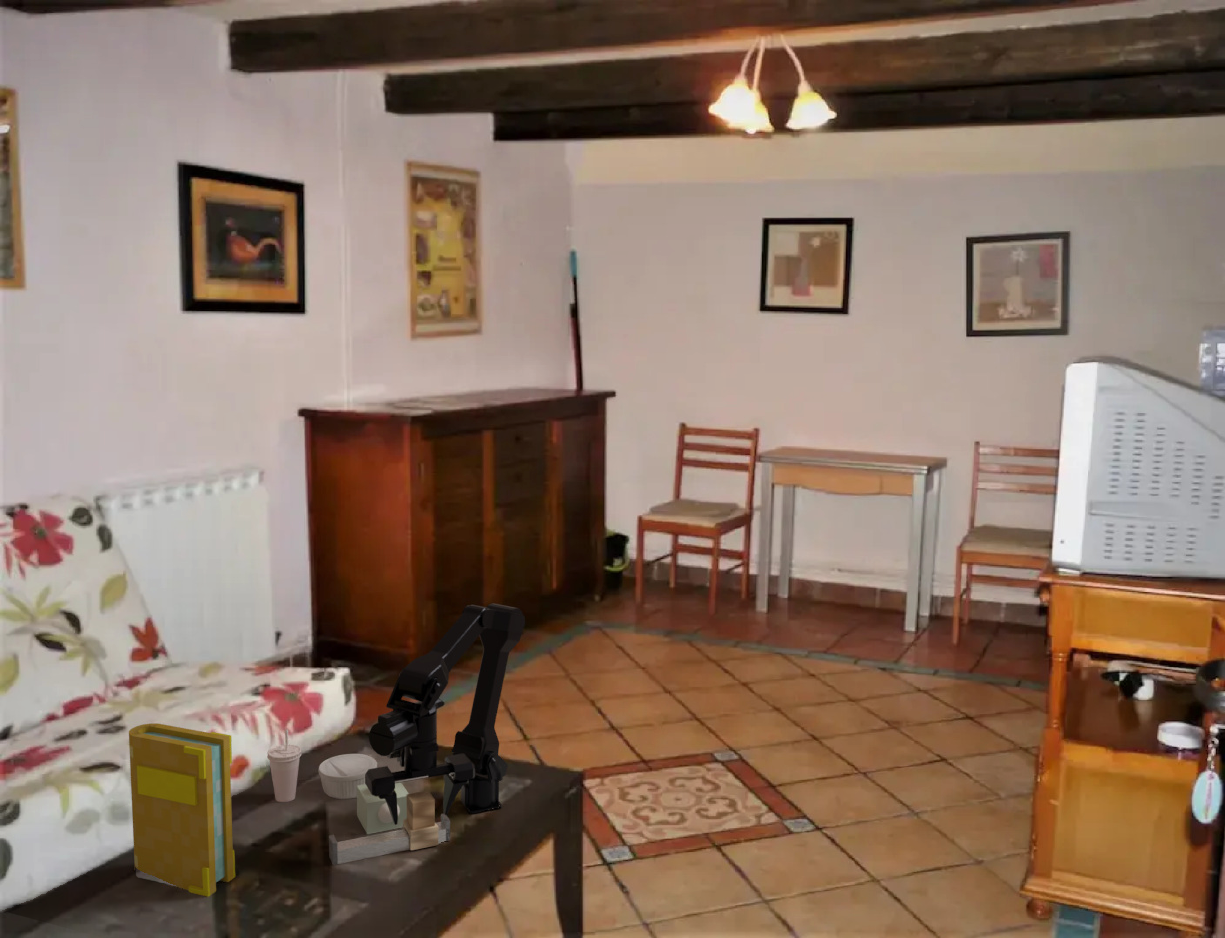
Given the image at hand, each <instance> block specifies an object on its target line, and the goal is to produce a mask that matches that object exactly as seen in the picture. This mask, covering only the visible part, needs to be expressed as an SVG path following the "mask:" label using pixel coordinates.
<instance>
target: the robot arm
mask: <svg viewBox="0 0 1225 938" xmlns="http://www.w3.org/2000/svg"><path fill="white" fill-rule="evenodd" d="M525 626H526V618H525V616H524V614H523V611H522V609H520V608H519V607H514V606H508V605H503V604H498V603H490V604H488V605H487V606H481V605H476V604H468V605H466V606H465V607H464V608H463V609H462V613H461V615H460V616H459V618H458V619H456V621H455V622H454V623H453V624H452V626H451V627H450V628H449V629H448V631H446V633H445V634H444V635H443V636H442V637H441V638H440V639H439V641H438V642H437V643H436V644H435V645H434V646H433V647H432V649H431V650H430V651H429V652H428V653H426V654H424V655H421V656H419V657H417V658H414V659H413V660H412V661H410V663H408V664H407V665H406V666H405V667H403V668H402V670H401V671H400V673H399V675H398V678H397V680H396V682H395V684H394V685H393V686H394V687H393V688H392V692H391V693H390V696H389V699H388V701H387V703H386V708H387V709H391V711H389V712H387V713H382V714H379V715H378V717H377V723H374V724H373V725H372V726H371V728H370V731H369V733H368V741H369V745H370V746H371V749H372V750H373V751H374V752H375V753H376V754H378V755H379V756H381V757H387V759H395V758H396V761H397V762H399V766H400V767H401V768H403V767H404V768H403V770H398V771H391V770H390V768H389V767H388V765H386V766H380V767H377V768H373V769H368V771H367V772H366V774H365V784H366V786H367V787H368V789H369V791H370V792H371V794H372V795H373V796H378V797H379V798H380V799H385V800H386V803H387V805H388V808H389V811H390V814H391V817H392V819H393V822H394V824H395V825H397V822H398V809H397V794H396V792H395V791H394V789H395V783H400V782H401V783H405V782H411V781H418V780H423V779H427V778H428V779H429V778H433V777H439V776H443V782H444V788H443V799H442V800H443V801H442V810H443V813H442V814H445V815H447V816H448V814H449V812H450V810H451V807H452V805H453V803H454V801H455V799H456V797H457V795H458V794H459V792H460V802H461V804H462V805H463V806H464V807H465V808H466V810H467V811H468V812H469V813H470V814H478V813H482V812H481V811H483V812H485V811H484V810H488V809H492V808H498V807H502V808H503V804H502V803H501V802H500V782H502V781H503V777H505V776H506V774H507V770H508V763H507V762H506V761H505V760H504V759H503V758H502V757H501V755H499V750H500V749H499V748H500V742H499V738H498V735H497V731H496V729H495V726H496V725H495V724H496V720H497V715H498V710H499V704H500V700H501V695H502V690H503V685H504V678H505V675H506V670H507V665H508V659H509V655H510V653H511V651H512V650H513V649H514V648H515V647H516V646H517V645H518V643H519V642H520V640H521V637H522V633H523V630H524V628H525ZM477 638H479V639H480V641H481V644H482V648H483V651H482V656H481V661H480V667H479V671H478V676H477V681H476V686H475V692H474V696H473V699H472V700H473V701H472V705H471V711H470V715H469V720H468V723H467V725H466V726H465V727H464V728H463V729H462V730H460V731H459V730H457V731H456V733H455V735H454V743H453V746H452V749H451V753H452V755H446V756H445V758H444V763H440V764H438V759H437V758H438V756H437V755H438V754H437V753H438V752H439V744H438V742H437V741H438V737H437V736H438V734H437V732H438V727H437V726H438V725H437V724H438V722H437V721H438V716H437V715H438V714H437V713H438V712H437V711H438V709H440V708H441V707H444V706H445V702H444V701H443V700H442V699H440V697H441V696H442V694H443V692H444V691H445V689H446V688H447V686H448V684H449V678H450V677H449V675H450V672H451V671H452V669H453V667H454V666H455V665H456V664H457V663H458V662H459V660H460V659H461V658H462V656H463V655H465V653H466V652H467V650H469V648H470V647H471V646H472V645H473V644H474V643H475V641H476V640H477ZM403 697H404V698H406V699H410V700H415V701H416V702H413V701H409V700H405V699H403ZM499 805H500V806H499ZM498 809H499V808H498ZM488 811H489V810H488Z"/></svg>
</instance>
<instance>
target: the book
mask: <svg viewBox="0 0 1225 938" xmlns="http://www.w3.org/2000/svg"><path fill="white" fill-rule="evenodd" d="M128 743H129V747H128V749H129V767H130V768H129V770H130V791H131V793H130V795H131V811H132V813H131V815H132V817H131V818H132V837H133V839H132V840H133V858H134V862H133V863H134V868H135V867H136V868H137V869H138V870H140V871H142V872H144V873H147V874H148V875H152V876H155V877H157V878H159V879H162V880H163V881H166V882H168V883H170V884H173V885H176V886H177V887H179V888H178V889H182V888H183V890H186V891H188V893H191V894H195V895H199V896H203V897H208V898H209V897H210V896H212V895H213V894H215V893H216V892H217V882H219V881H221V882H223V883H224V882H225V883H229V882H230V881H232V880H233V879H234V878H236V857H235V849H234V848H233V812H232V783H231V782H232V781H231V779H232V778H231V764H232V763H233V756H232V754H233V752H232V735H231V734H226V733H220V732H215V731H211V732H207V731H201V730H196V729H190V728H184V727H180V726H173V725H169V724H168V725H167V724H163V723H144V724H140V725H137V726H134V727H132V728H130V730H128ZM177 887H176V888H177Z"/></svg>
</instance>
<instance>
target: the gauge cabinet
mask: <svg viewBox="0 0 1225 938" xmlns="http://www.w3.org/2000/svg"><path fill="white" fill-rule="evenodd" d="M394 791H395V792H396V794H397V809H398V822H397V825H395V824H394V822H393V819H392V817H391V814H390V811H389V808H388V805H387V803H386V800H385V799H380V798H379V797H375V796H373V795H372V794H371V792H370V791H369V789H368V787H367V786H366V784H364V785H358V786H357V797H356V816H357V818H358V820H359V822H360V824H361V825H362V827H363V829H364V831H365V833H366V835H371V834H372V835H373V834H375V833H377V834H378V833H381V832H382V833H383V832H388V831H391V830H392V831H393V830H398V829H403V819H407V794H410V793H409V792H408V791H407V789H406V787H405V786H404V785H403V782H400V783H395V789H394Z"/></svg>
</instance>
